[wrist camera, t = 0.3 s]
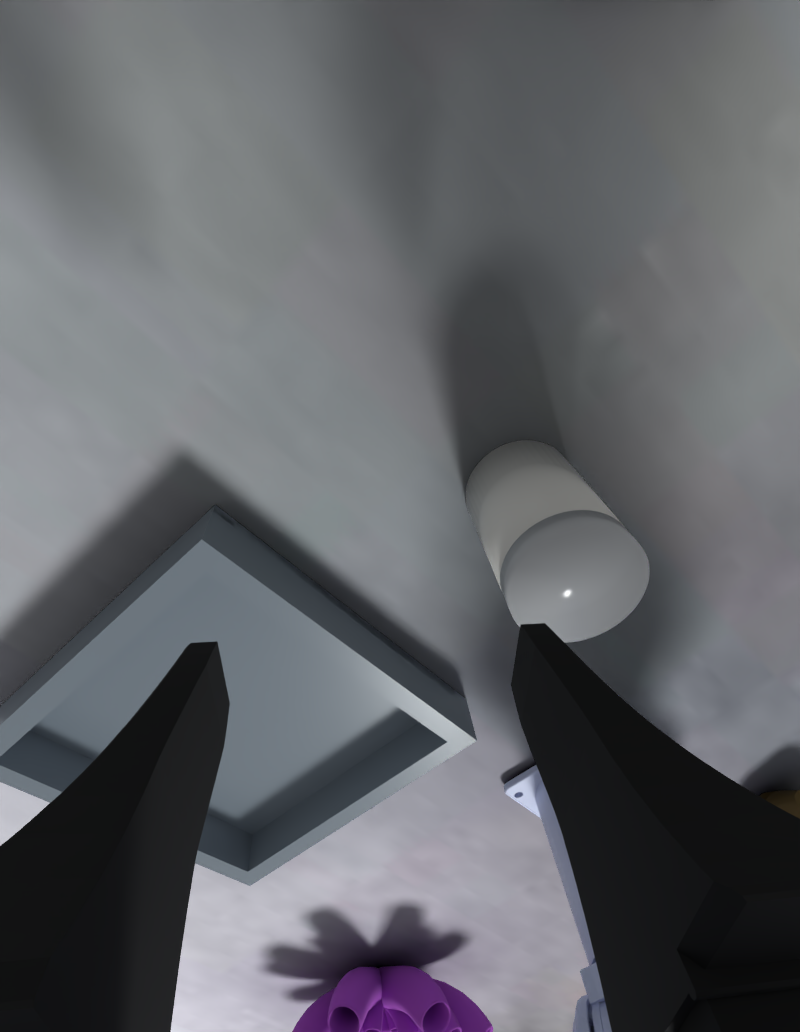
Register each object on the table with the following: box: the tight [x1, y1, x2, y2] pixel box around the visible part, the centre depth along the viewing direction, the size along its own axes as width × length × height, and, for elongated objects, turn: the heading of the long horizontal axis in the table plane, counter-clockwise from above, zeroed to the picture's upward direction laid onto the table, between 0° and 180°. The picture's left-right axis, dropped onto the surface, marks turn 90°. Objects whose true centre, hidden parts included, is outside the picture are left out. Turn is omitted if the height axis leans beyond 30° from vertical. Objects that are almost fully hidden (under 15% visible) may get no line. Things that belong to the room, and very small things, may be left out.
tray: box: [0, 505, 477, 886], centre depth 26 cm, size 16×16×2 cm
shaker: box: [465, 440, 650, 643], centre depth 20 cm, size 4×4×6 cm
